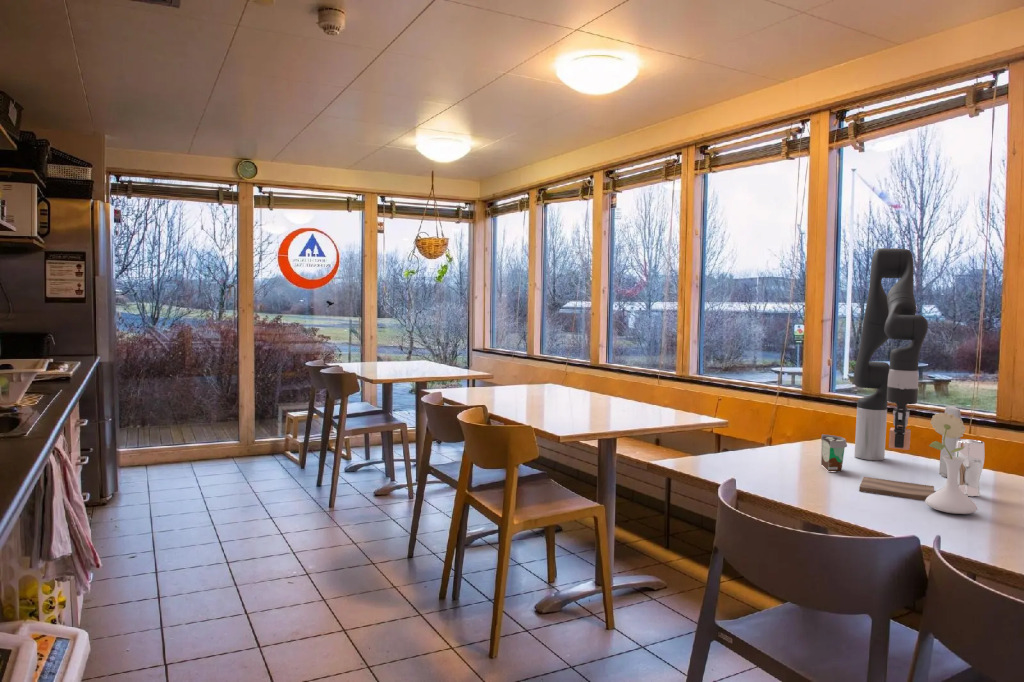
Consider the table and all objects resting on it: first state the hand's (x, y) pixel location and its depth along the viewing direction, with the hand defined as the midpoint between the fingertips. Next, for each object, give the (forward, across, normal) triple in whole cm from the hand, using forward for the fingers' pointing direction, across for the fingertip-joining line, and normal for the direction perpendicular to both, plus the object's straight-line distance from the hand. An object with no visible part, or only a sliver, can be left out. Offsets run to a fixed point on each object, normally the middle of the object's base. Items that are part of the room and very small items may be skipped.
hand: (899, 445), depth 197 cm
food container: (+13, -18, -18) cm, 29 cm away
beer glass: (+13, -8, +17) cm, 23 cm away
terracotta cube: (0, 0, 0) cm, 0 cm away
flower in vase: (+13, +14, +12) cm, 23 cm away
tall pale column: (+13, -29, +13) cm, 34 cm away
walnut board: (+13, 0, 0) cm, 13 cm away
